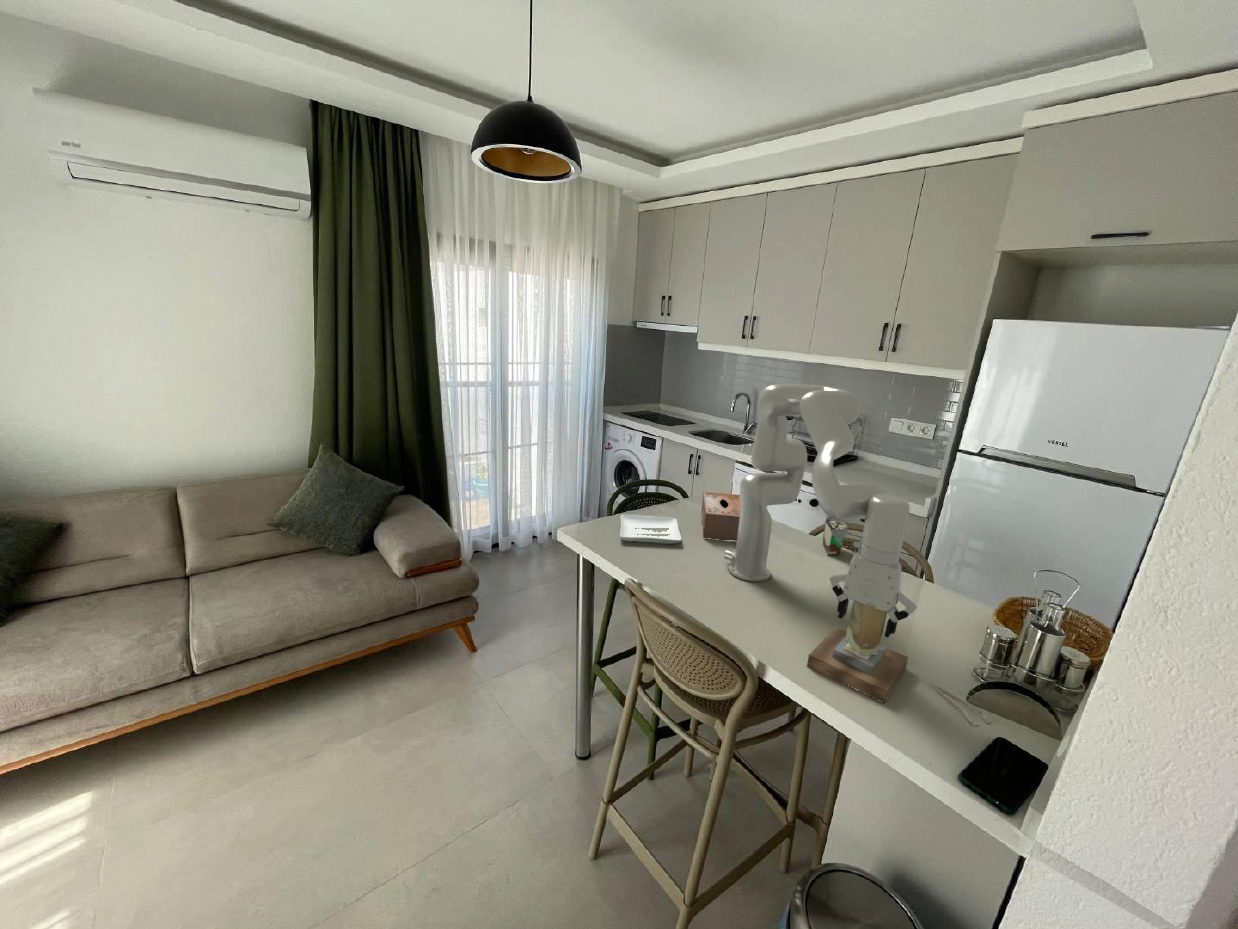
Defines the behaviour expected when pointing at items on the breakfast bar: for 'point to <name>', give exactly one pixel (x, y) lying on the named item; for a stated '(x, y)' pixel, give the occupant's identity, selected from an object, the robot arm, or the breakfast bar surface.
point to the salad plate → (641, 521)
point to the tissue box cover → (720, 515)
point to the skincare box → (865, 628)
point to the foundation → (858, 665)
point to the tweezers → (960, 703)
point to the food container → (834, 536)
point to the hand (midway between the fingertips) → (864, 625)
